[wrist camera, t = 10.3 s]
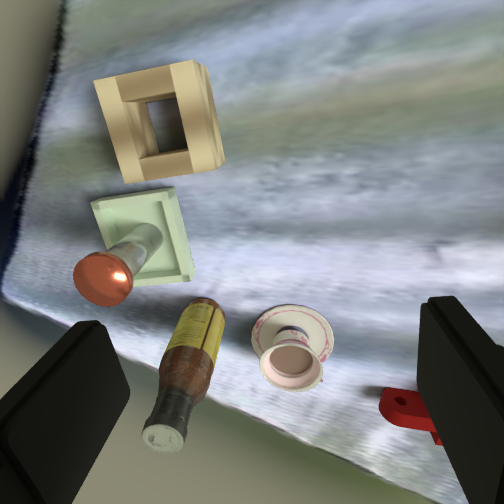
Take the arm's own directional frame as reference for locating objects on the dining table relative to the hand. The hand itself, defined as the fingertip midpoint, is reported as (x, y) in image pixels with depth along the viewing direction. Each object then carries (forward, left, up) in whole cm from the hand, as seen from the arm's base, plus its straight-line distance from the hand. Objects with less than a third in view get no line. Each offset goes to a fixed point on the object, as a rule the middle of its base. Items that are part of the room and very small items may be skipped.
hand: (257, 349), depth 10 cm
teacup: (+24, -2, -32) cm, 41 cm away
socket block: (-7, -12, -32) cm, 35 cm away
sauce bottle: (+19, -13, -32) cm, 40 cm away
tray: (+6, -18, -32) cm, 37 cm away
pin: (+6, -18, -31) cm, 37 cm away
